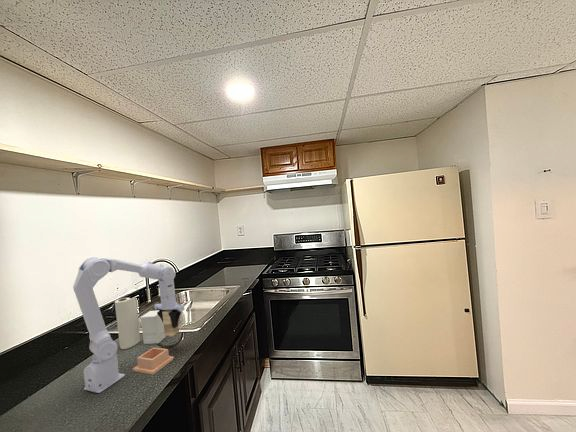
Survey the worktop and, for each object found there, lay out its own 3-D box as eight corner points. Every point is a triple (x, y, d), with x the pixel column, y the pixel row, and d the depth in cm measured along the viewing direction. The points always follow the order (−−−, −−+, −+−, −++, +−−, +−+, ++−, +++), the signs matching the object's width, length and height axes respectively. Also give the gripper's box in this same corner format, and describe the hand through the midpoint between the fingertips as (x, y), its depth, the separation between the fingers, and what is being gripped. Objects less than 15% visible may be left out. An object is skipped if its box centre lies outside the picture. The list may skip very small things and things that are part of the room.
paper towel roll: (117, 350, 117) (111, 302, 116) (124, 343, 123) (118, 298, 122) (134, 348, 118) (129, 300, 117) (140, 341, 124) (135, 296, 123)
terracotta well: (153, 374, 96) (151, 362, 96) (133, 371, 100) (131, 359, 100) (174, 359, 106) (172, 348, 105) (155, 356, 109) (154, 345, 109)
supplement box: (167, 335, 127) (164, 309, 127) (158, 343, 120) (155, 316, 119) (152, 336, 128) (149, 310, 127) (143, 344, 120) (139, 317, 120)
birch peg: (172, 336, 110) (169, 312, 110) (164, 335, 112) (162, 311, 112) (179, 331, 114) (176, 308, 114) (172, 330, 116) (169, 308, 115)
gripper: (188, 292, 114) (191, 323, 114) (162, 291, 119) (165, 321, 119) (175, 298, 107) (179, 331, 107) (149, 296, 112) (152, 328, 113)
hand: (171, 326), depth 113 cm, fingers closed on birch peg, 4 cm apart
